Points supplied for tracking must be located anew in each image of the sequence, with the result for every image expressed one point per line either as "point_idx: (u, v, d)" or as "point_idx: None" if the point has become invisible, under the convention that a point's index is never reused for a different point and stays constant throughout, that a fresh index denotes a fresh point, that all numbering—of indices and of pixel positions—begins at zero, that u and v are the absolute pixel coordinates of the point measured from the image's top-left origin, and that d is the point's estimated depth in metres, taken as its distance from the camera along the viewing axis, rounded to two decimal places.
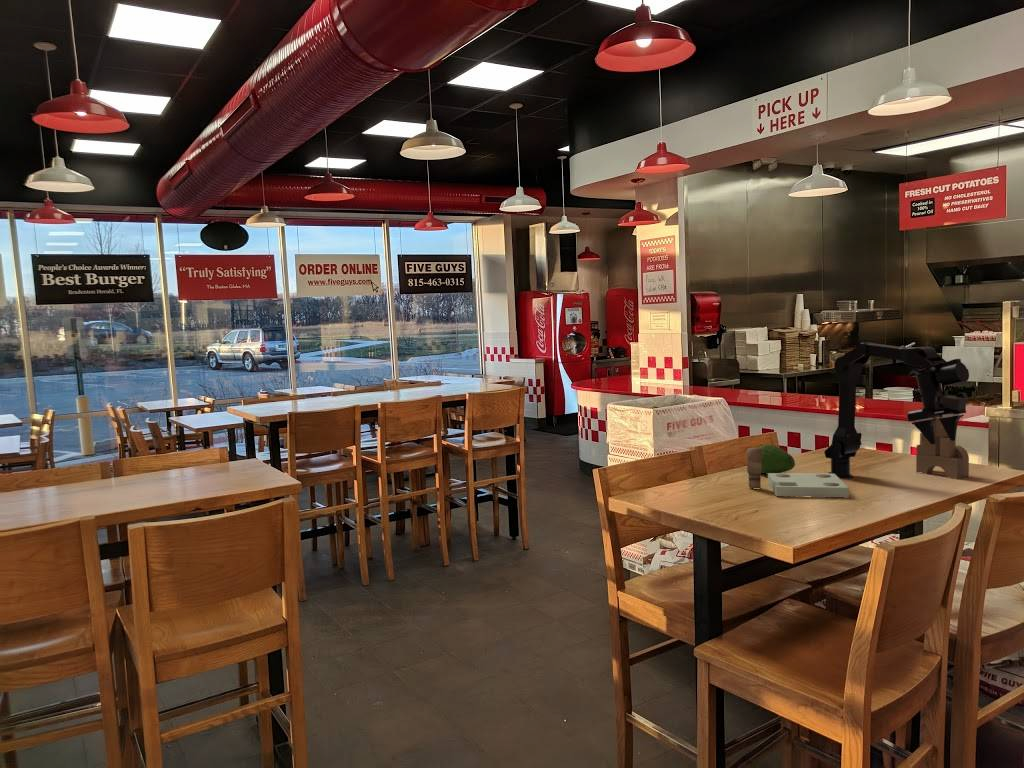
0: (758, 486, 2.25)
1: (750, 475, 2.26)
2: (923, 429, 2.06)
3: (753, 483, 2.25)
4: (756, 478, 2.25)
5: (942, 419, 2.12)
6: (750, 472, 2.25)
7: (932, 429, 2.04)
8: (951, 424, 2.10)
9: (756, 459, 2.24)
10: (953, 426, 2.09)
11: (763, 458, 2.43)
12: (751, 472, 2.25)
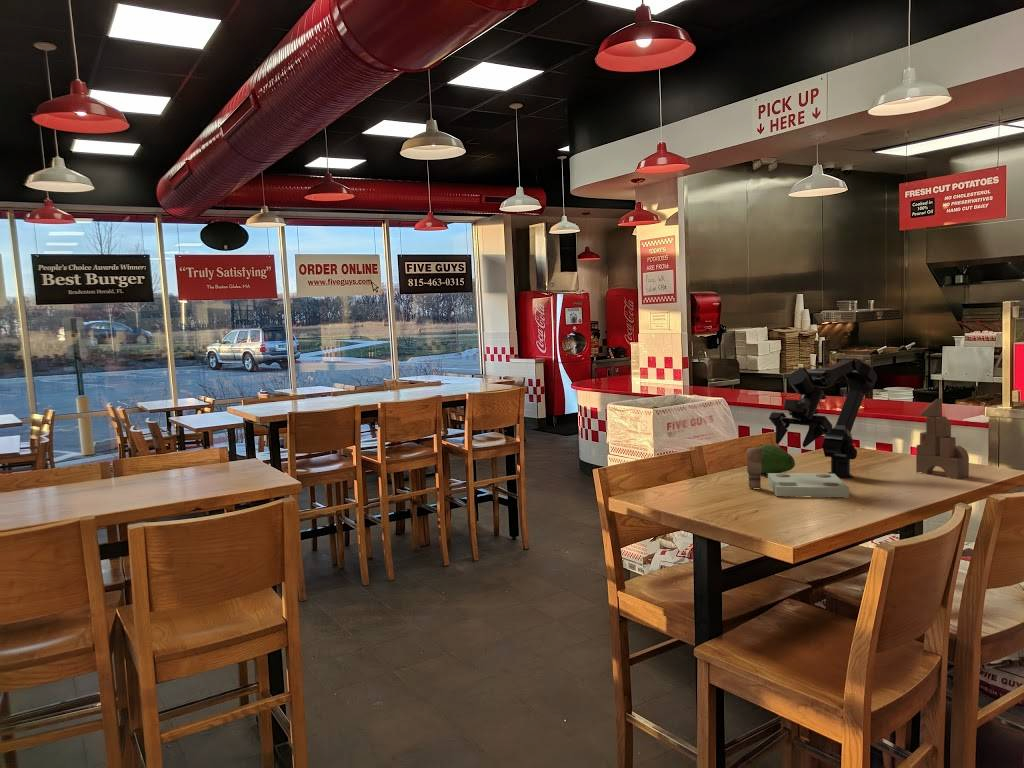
0: (758, 486, 2.25)
1: (750, 475, 2.26)
2: None
3: (753, 483, 2.25)
4: (756, 478, 2.25)
5: None
6: (750, 472, 2.25)
7: (777, 429, 2.27)
8: None
9: (756, 459, 2.24)
10: None
11: (763, 458, 2.43)
12: (751, 472, 2.25)
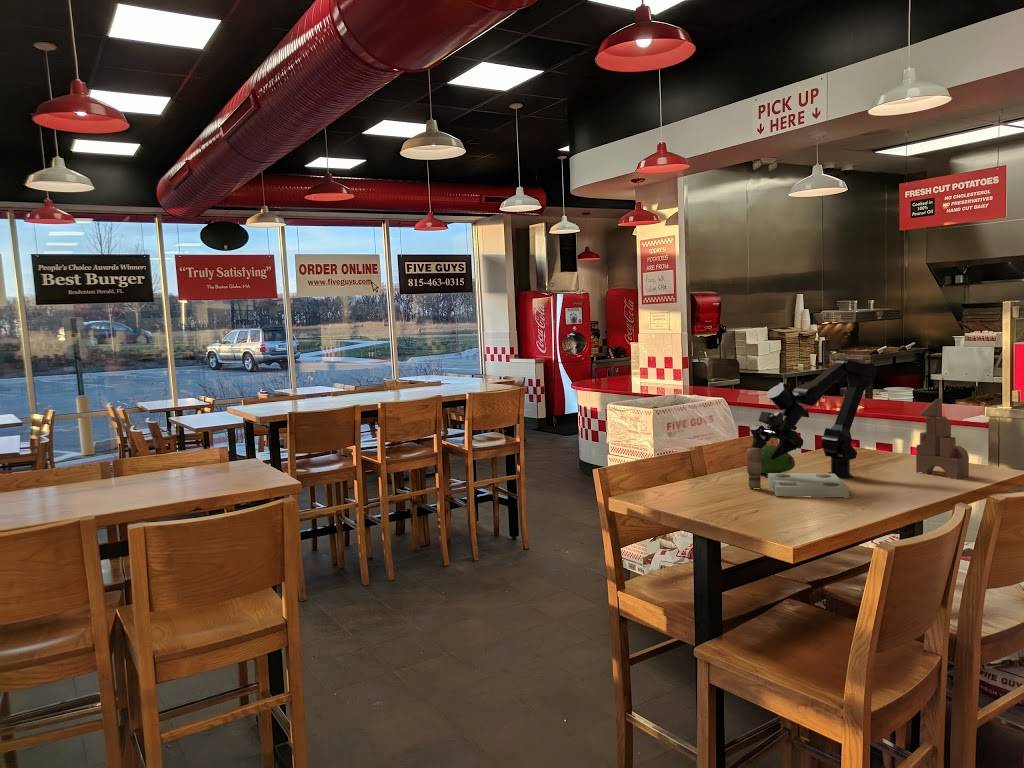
0: (758, 486, 2.25)
1: (750, 475, 2.26)
2: None
3: (752, 483, 2.25)
4: (756, 478, 2.25)
5: None
6: (750, 472, 2.25)
7: (754, 441, 2.32)
8: None
9: (756, 459, 2.24)
10: None
11: (763, 458, 2.43)
12: (751, 472, 2.25)
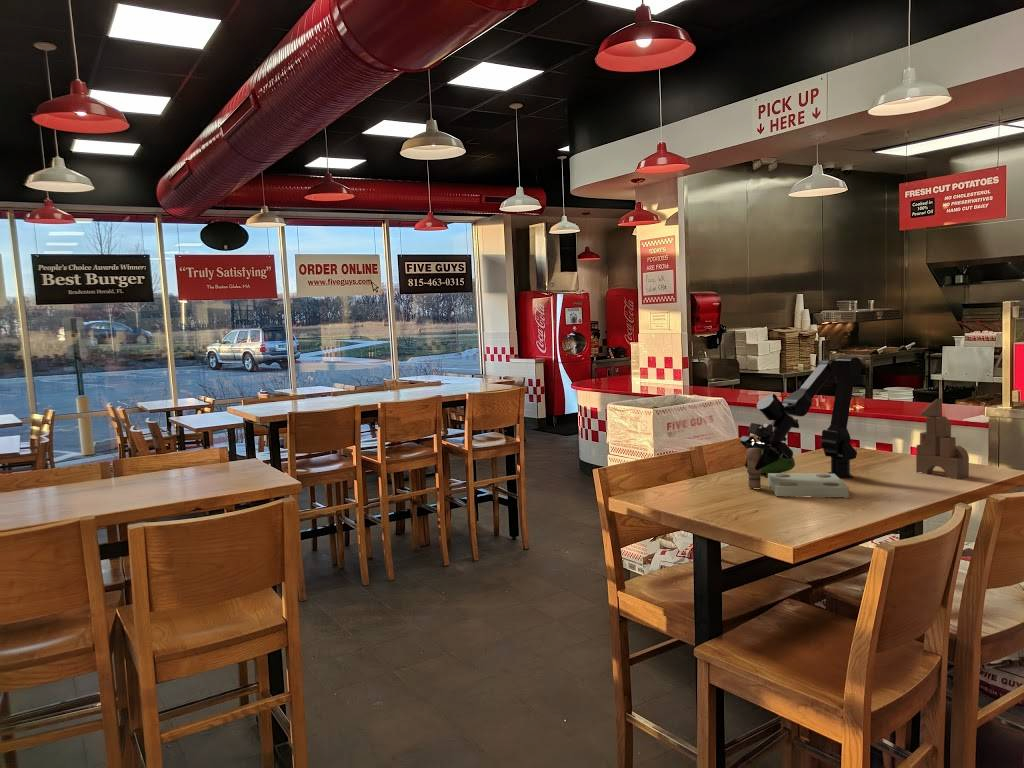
0: (758, 486, 2.25)
1: (750, 475, 2.26)
2: None
3: (752, 483, 2.25)
4: (756, 478, 2.25)
5: None
6: (750, 472, 2.25)
7: None
8: None
9: (756, 459, 2.24)
10: None
11: None
12: (751, 472, 2.25)
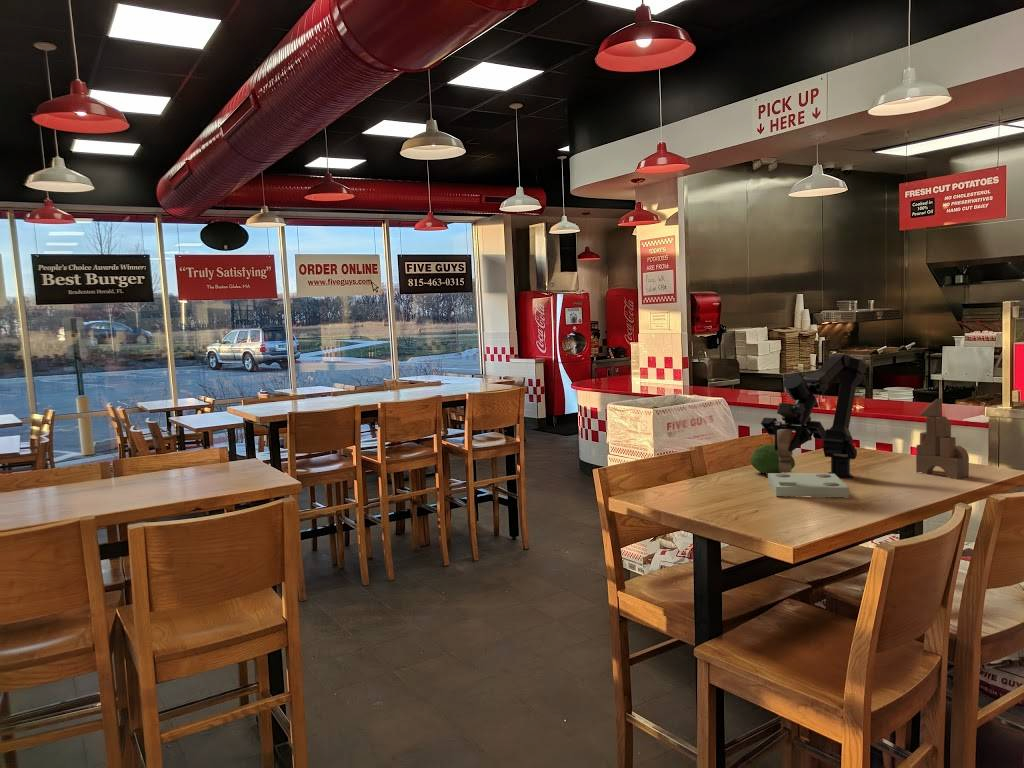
0: (790, 468, 2.17)
1: (782, 457, 2.16)
2: None
3: (785, 466, 2.16)
4: (788, 460, 2.16)
5: None
6: (782, 454, 2.16)
7: (776, 435, 2.20)
8: None
9: (789, 440, 2.15)
10: None
11: (763, 458, 2.43)
12: (784, 454, 2.16)
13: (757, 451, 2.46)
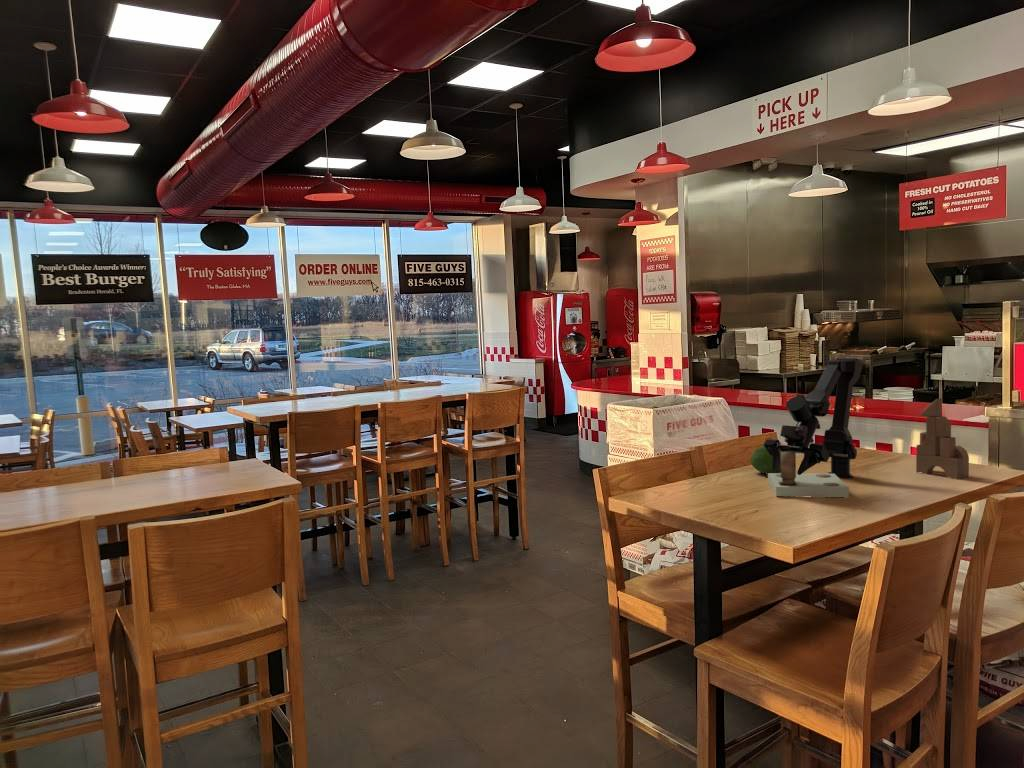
0: None
1: (785, 480, 2.16)
2: None
3: None
4: (792, 483, 2.16)
5: None
6: (786, 477, 2.16)
7: (774, 457, 2.21)
8: None
9: (793, 463, 2.15)
10: None
11: (763, 458, 2.43)
12: (787, 477, 2.15)
13: (757, 451, 2.46)
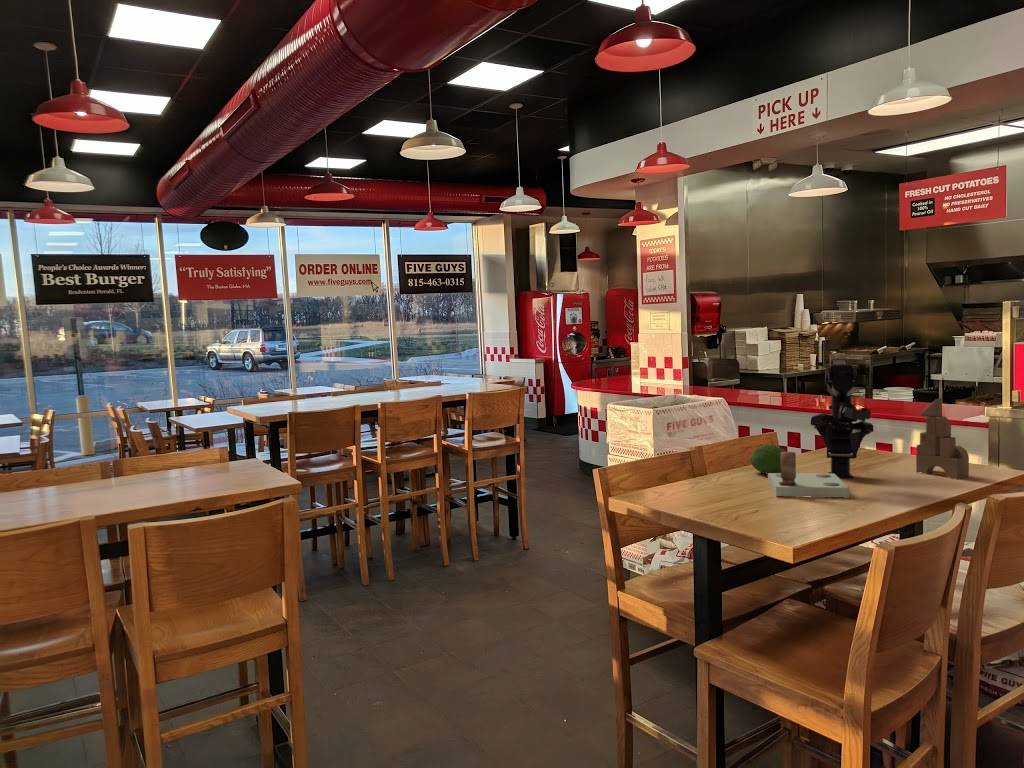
0: None
1: (785, 480, 2.16)
2: (823, 435, 2.21)
3: None
4: (792, 483, 2.16)
5: (851, 434, 2.25)
6: (786, 477, 2.16)
7: (830, 434, 2.19)
8: (856, 438, 2.23)
9: (793, 463, 2.15)
10: (857, 440, 2.22)
11: (763, 458, 2.43)
12: (787, 477, 2.16)
13: (757, 451, 2.46)
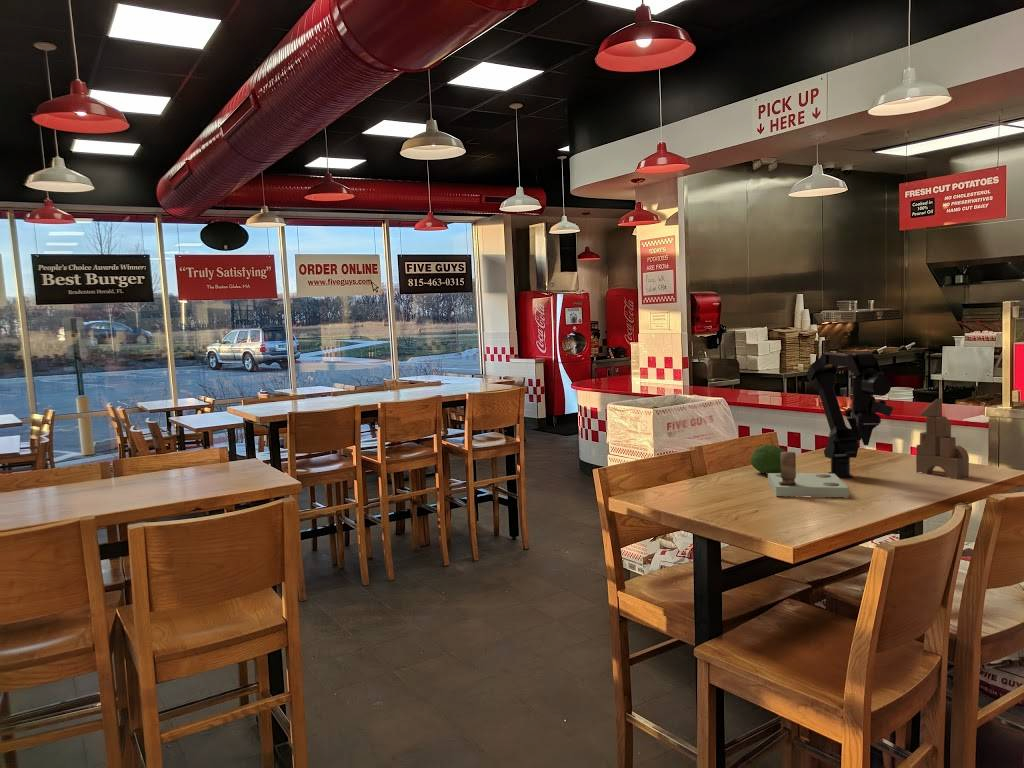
0: None
1: (785, 480, 2.16)
2: (863, 431, 2.20)
3: None
4: (792, 483, 2.16)
5: (851, 420, 2.31)
6: (786, 477, 2.16)
7: None
8: None
9: (793, 463, 2.15)
10: None
11: (763, 458, 2.43)
12: (787, 477, 2.16)
13: (757, 451, 2.46)
